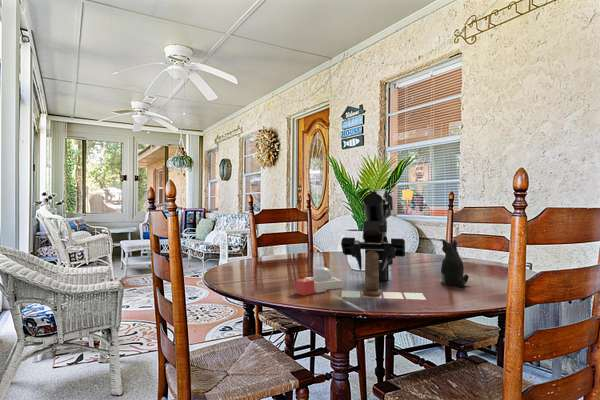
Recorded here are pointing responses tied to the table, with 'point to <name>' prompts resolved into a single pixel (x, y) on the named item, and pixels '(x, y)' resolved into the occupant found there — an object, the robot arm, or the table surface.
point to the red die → (304, 286)
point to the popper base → (326, 285)
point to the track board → (386, 295)
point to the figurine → (452, 266)
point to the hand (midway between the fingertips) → (371, 269)
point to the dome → (323, 275)
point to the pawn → (371, 274)
